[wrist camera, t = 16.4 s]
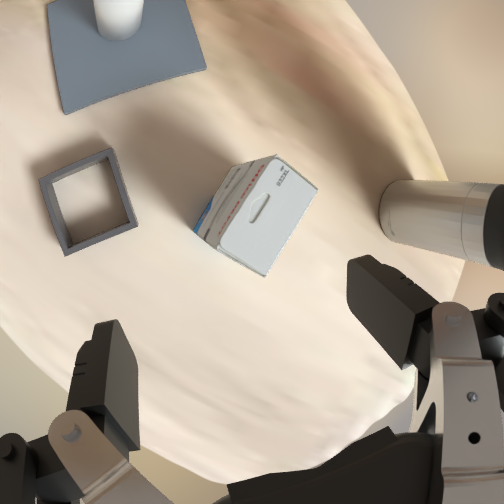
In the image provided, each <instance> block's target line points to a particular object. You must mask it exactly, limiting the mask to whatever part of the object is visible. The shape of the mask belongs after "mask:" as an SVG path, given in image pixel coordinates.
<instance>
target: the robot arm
mask: <svg viewBox="0 0 504 504" xmlns="http://www.w3.org/2000/svg"><path fill="white" fill-rule="evenodd" d="M379 216H380V223H381V227H382V229H383V231H384V233H385V235H386V236H387V237H388V238H389V239H390V240H391V241H394V242H396V243H400V244H404V245H409V246H413V247H416V248H420V249H425V250H429V251H433V252H437V253H441V254H445V255H449V256H452V257H456V258H460V259H464V260H468V261H472V262H476V263H480V264H483V265H487V266H491V267H494V268H497V269H501V270H503V271H504V185H503V184H490V183H472V182H451V181H422V180H398V181H395V182H393V183H392V184H390V185H389V186H388V187H387V189H386V190H385V192H384V194H383V196H382V199H381V202H380V209H379ZM347 303H348V306H349V308H350V310H351V312H352V313H353V314H354V315H355V317H356V318H357V319H358V320H359V321H360V322H361V323H362V325H363V326H364V327H365V328H366V329H367V330H368V331H369V333H370V334H371V335H372V336H373V337H374V338H375V339H376V341H377V342H378V343H379V344H380V345H381V346H382V348H383V349H384V350H385V351H386V352H387V353H388V355H389V356H390V357H391V358H392V359H393V360H394V362H395V363H396V364H397V365H398V366H399V367H400V369H401V370H403V369H405V368H407V367H409V366H411V365H413V364H414V365H415V367H416V368H417V369H416V372H415V383H414V402H413V415H412V422H411V426H410V429H409V433H399V434H394V433H393V432H392V430H391V429H390V428H389V426H387V427H385V428H383V429H381V430H379V431H377V432H375V433H373V434H371V435H369V436H367V437H365V438H363V439H361V440H358V441H356V442H354V443H352V444H351V445H349V446H348V447H347V448H345V449H344V450H343V451H341V452H340V453H338V454H337V455H336V456H334V457H333V458H331V459H330V460H328V461H327V462H325V463H324V464H322V465H321V466H319V467H317V468H314V469H307V470H299V471H291V472H280V473H269V474H266V475H262V476H258V477H255V478H251V479H247V480H243V481H239V482H235V483H231V484H227V488H228V491H229V494H228V495H226V496H224V497H222V498H221V499H219V500H217V501H216V502H214V503H213V504H504V440H503V428H502V417H501V409H502V410H503V412H504V293H495V294H492V295H491V296H490V297H489V299H488V302H487V305H486V308H484V309H480V310H474V311H469V309H468V308H466V307H465V306H463V305H461V304H459V303H456V302H442V303H439V302H438V301H437V300H435V299H434V298H433V297H432V296H431V295H429V294H428V293H427V292H426V291H424V290H423V289H422V288H421V287H419V286H418V285H417V284H416V283H415V284H414V282H413V281H412V280H411V279H409V278H406V275H404V274H403V273H402V272H400V271H399V270H398V269H396V268H394V267H391V266H388V265H386V264H381V263H380V262H379V261H377V260H376V259H375V258H374V257H372V256H371V255H364V256H361V257H358V258H354V259H351V260H349V261H348V264H347ZM500 408H501V409H500ZM136 450H140V436H139V409H138V365H137V361H136V357H135V355H134V352H133V350H132V348H131V346H130V344H129V342H128V340H127V338H126V336H125V334H124V331H123V329H122V327H121V325H120V323H119V321H118V320H116V319H115V320H110V321H106V322H101V323H97V324H95V326H94V330H93V335H92V339H91V340H90V341H85V343H84V344H83V345H82V347H81V348H80V350H79V351H78V353H77V357H76V362H75V367H74V371H73V377H72V380H71V385H70V390H69V396H68V401H67V407H66V412H64V413H62V414H60V415H58V416H57V417H56V418H55V419H54V420H53V422H52V423H51V425H50V427H49V431H48V435H45V436H43V437H40V438H38V439H35V440H32V441H30V442H26V441H25V440H24V439H23V438H22V437H21V436H20V435H18V434H16V433H8V434H5V435H4V436H2V437H1V438H0V504H35V497H36V498H37V504H80V500H79V499H80V498H82V500H83V502H84V503H85V504H174V503H173V502H172V501H170V500H169V499H168V498H167V497H166V496H165V495H163V494H162V493H161V492H160V491H159V490H158V489H157V488H156V487H154V486H153V485H152V484H151V483H150V482H149V481H148V480H147V479H146V478H145V477H144V476H143V475H141V474H140V472H139V471H138V470H137V469H136V468H135V467H133V465H131V463H129V451H136Z"/></svg>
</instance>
